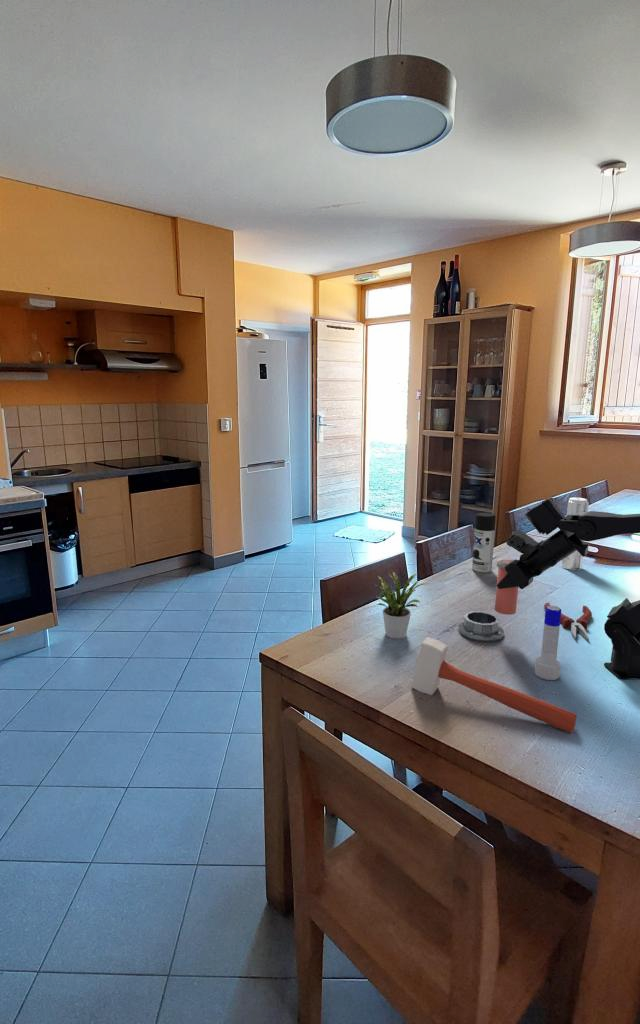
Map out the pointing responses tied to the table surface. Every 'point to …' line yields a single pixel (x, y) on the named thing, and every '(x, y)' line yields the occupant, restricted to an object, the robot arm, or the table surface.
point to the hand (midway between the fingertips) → (501, 584)
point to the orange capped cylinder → (505, 591)
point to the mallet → (483, 687)
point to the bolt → (549, 646)
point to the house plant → (397, 607)
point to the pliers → (580, 623)
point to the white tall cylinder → (575, 559)
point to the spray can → (483, 542)
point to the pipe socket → (481, 627)
